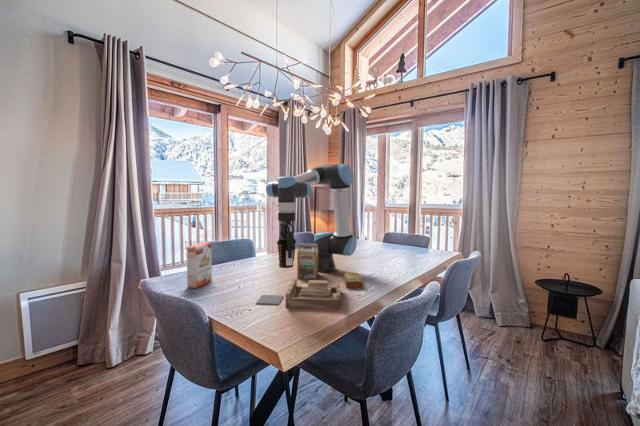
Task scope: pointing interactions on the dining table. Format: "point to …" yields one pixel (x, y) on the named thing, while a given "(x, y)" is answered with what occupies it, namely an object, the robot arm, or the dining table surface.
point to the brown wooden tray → (311, 302)
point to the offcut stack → (316, 288)
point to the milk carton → (307, 261)
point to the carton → (352, 280)
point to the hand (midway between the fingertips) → (286, 262)
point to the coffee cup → (284, 252)
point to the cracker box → (199, 265)
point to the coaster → (270, 299)
